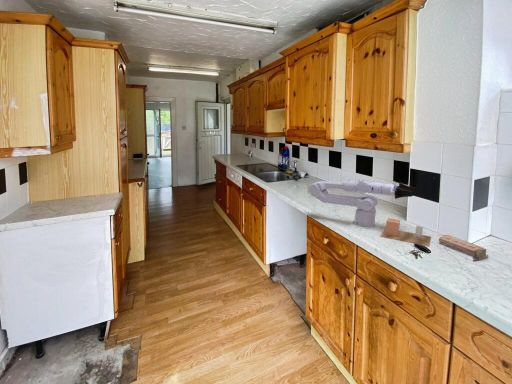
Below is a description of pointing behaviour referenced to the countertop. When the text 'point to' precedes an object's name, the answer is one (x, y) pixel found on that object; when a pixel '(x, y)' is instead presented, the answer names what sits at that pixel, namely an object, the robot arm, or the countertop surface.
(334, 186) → the robot arm
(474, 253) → the packaged product
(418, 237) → the post
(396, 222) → the orange rectangular block
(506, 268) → the countertop surface
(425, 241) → the board
